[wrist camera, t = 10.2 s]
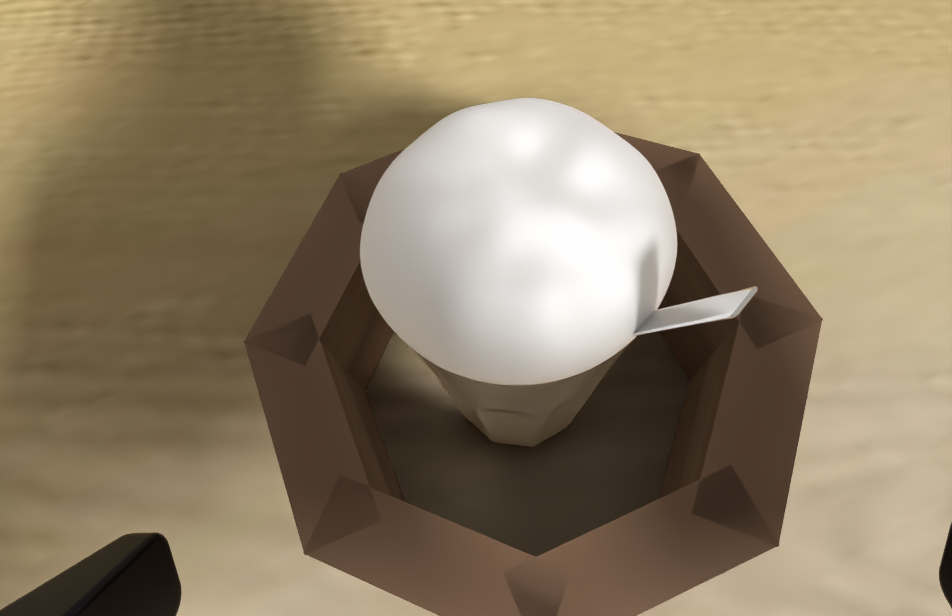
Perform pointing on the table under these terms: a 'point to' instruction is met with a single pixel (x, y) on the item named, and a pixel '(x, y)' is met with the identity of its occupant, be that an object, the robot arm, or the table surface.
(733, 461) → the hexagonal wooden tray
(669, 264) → the milkshake
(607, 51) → the table surface
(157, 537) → the robot arm
